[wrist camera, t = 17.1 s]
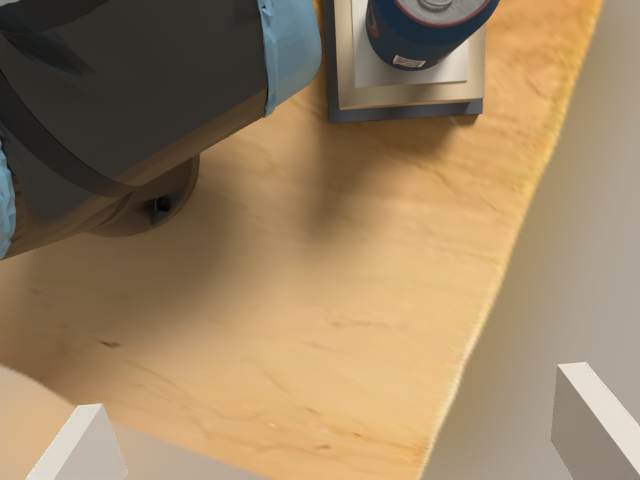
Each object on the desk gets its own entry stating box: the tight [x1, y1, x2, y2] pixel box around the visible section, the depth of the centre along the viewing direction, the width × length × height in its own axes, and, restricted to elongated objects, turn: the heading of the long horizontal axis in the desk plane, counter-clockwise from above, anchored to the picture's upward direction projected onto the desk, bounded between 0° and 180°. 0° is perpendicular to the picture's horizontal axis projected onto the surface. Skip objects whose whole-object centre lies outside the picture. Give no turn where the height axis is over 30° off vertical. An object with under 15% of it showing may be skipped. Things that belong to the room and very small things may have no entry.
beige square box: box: [323, 0, 486, 123], centre depth 36 cm, size 13×13×5 cm
